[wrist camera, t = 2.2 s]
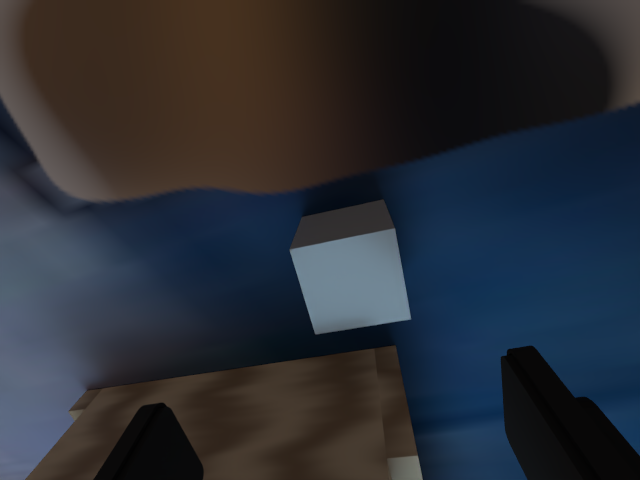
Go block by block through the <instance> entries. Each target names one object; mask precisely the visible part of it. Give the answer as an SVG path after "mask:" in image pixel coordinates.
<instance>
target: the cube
mask: <svg viewBox="0 0 640 480" xmlns="http://www.w3.org/2000/svg"><path fill="white" fill-rule="evenodd" d="M290 253H291V256H292V259H293V263H294V266H295V269H296V273H297V276H298V279H299V282H300V286H301V289H302V292H303V296H304V299H305V302H306V306H307V309H308V312H309V315H310V319H311V322H312V325H313V329H314V332H315V335H316V334H322V333H328V332H334V331H341V330H347V329H353V328H359V327H366V326H372V325H378V324H384V323H390V322H397V321H403V320H409V319H411V316H410V310H409V305H408V299H407V293H406V288H405V282H404V277H403V271H402V265H401V260H400V254H399V249H398V243H397V237H396V232H395V227H394V225H393V222H392V220H391V217H390V214H389V212H388V209H387V207H386V204H385V202H384V199H383V200H379V201H374V202H369V203H365V204H360V205H356V206H351V207H346V208H342V209H337V210H332V211H328V212H323V213H319V214H314V215H309V216H305V217H302V218H301V221H300V223H299V226H298V229H297V231H296V234H295V236H294V239H293V242H292V244H291V247H290Z"/></svg>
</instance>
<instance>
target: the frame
mask: <svg viewBox="0 0 640 480" xmlns="http://www.w3.org/2000/svg"><path fill="white" fill-rule="evenodd" d="M162 402H163V403H165V404H166V406H167V407H170V408H171V409H172V411H173V413H174V414H175V416H176V418H177V420H178V422H179V423H180V425H181V427H182V429H183V431H184V432H185V434H186V436H187V438H188V440H189V442H190V443H191V445H192V447H193V449H194V451H195V452H196V454H197V456H198V458H199V460H200V461H201V463H202V465H203V469H204V476H203V480H423V478H422V474H421V469H420V464H419V459H418V454H417V449H416V444H415V439H414V434H413V429H412V424H411V419H410V414H409V409H408V404H407V399H406V394H405V389H404V385H403V380H402V375H401V370H400V365H399V360H398V355H397V350H396V345H394V346H387V347H380V348H374V349H367V350H360V351H353V352H346V353H340V354H333V355H326V356H319V357H312V358H306V359H299V360H292V361H285V362H278V363H272V364H265V365H258V366H251V367H244V368H238V369H231V370H224V371H217V372H210V373H204V374H197V375H190V376H183V377H176V378H170V379H163V380H156V381H149V382H142V383H136V384H129V385H122V386H115V387H108V388H102V389H95V390H88V391H86V392H85V393H84V394H83V396H82V397H81V398H80V399H79V400H78V401H77V402H76V403H75V404H74V406H73V407H72V408H71V409H70V410H69V411H68V412H69V413H70V415H71V416H72V418H73V419H74V421H75V422H74V423H73V424H72V425H71V426H70V428H69V429H68V430H67V431H66V432H65V433H64V435H63V436H62V437H61V438H60V439H59V441H58V442H57V443H56V444H55V445H54V446H53V448H52V449H51V450H50V451H49V452H48V453H47V455H46V456H45V457H44V458H43V459H42V461H41V462H40V463H39V464H38V465H37V466H36V468H35V469H34V470H33V471H32V472H31V473H30V475H29V476H28V477H27V478H26V479H25V480H93V479H94V478H95V476H96V475H97V473H98V471H99V470H100V468H101V467H102V465H103V464H104V462H105V461H106V459H107V457H108V456H109V454H110V453H111V451H112V450H113V448H114V446H115V445H116V443H117V442H118V440H119V439H120V437H121V436H122V434H123V432H124V431H125V429H126V428H127V426H128V425H129V423H130V422H131V420H132V418H133V417H134V415H135V414H136V412H137V411H138V409H139V408H140V407H141V406H143V405H148V404H155V403H162Z"/></svg>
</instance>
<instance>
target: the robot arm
mask: <svg viewBox="0 0 640 480" xmlns="http://www.w3.org/2000/svg"><path fill="white" fill-rule="evenodd" d="M501 372H502V388H503V405H504V422H505V431H506V435H507V438H508V441H509V443H510V445H511V447H512V449H513V451H514V453H515V455H516V457H517V459H518V461H519V463H520V465H521V467H522V469H523V471H524V473H525V475H526V477H527V479H528V480H640V456H639V455H638V454H637V452H636V451H635V450H634V449H633V448H632V446H631V445H630V444H629V443H628V442H627V441H626V439H625V438H624V437H623V436H622V435H621V433H620V432H619V431H618V430H617V429H616V428H615V426H614V425H613V424H612V423H611V422H610V420H609V419H608V418H607V417H606V416H605V415H604V413H603V412H602V411H601V410H600V409H599V407H598V406H597V405H596V404H595V403H594V402H593V401H592V400H590V399H588V398H587V397H577V398H575V397H574V396H573V395H572V394H571V392H570V391H569V390H568V389H567V387H566V386H565V385H564V384H563V382H562V381H561V380H560V379H559V377H558V376H557V375H556V374H555V372H554V371H553V370H552V368H551V367H550V366H549V365H548V363H547V362H546V361H545V360H544V358H543V357H542V356H541V355H540V353H539V352H538V351H537V350H536V349H535V348H534V347H533V346H526V347H520V348H513V349H508V350H507V356H501ZM203 476H204V469H203V465H202V463H201V461H200V460H199V458H198V456H197V454H196V452H195V451H194V449H193V447H192V445H191V443H190V442H189V440H188V438H187V436H186V434H185V432H184V431H183V429H182V427H181V425H180V423H179V422H178V420H177V418H176V416H175V414H174V413H173V411H172V409H171V408H170V407H167V406H166V404H165V403H163V402H162V403H155V404H148V405H143V406H141V407H140V408H139V409H138V411H137V412H136V414H135V415H134V417H133V418H132V420H131V422H130V423H129V425H128V426H127V428H126V429H125V431H124V432H123V434H122V436H121V437H120V439H119V440H118V442H117V443H116V445H115V446H114V448H113V450H112V451H111V453H110V454H109V456H108V457H107V459H106V461H105V462H104V464H103V465H102V467H101V468H100V470H99V471H98V473H97V475H96V476H95V478H94V479H93V480H203Z"/></svg>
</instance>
